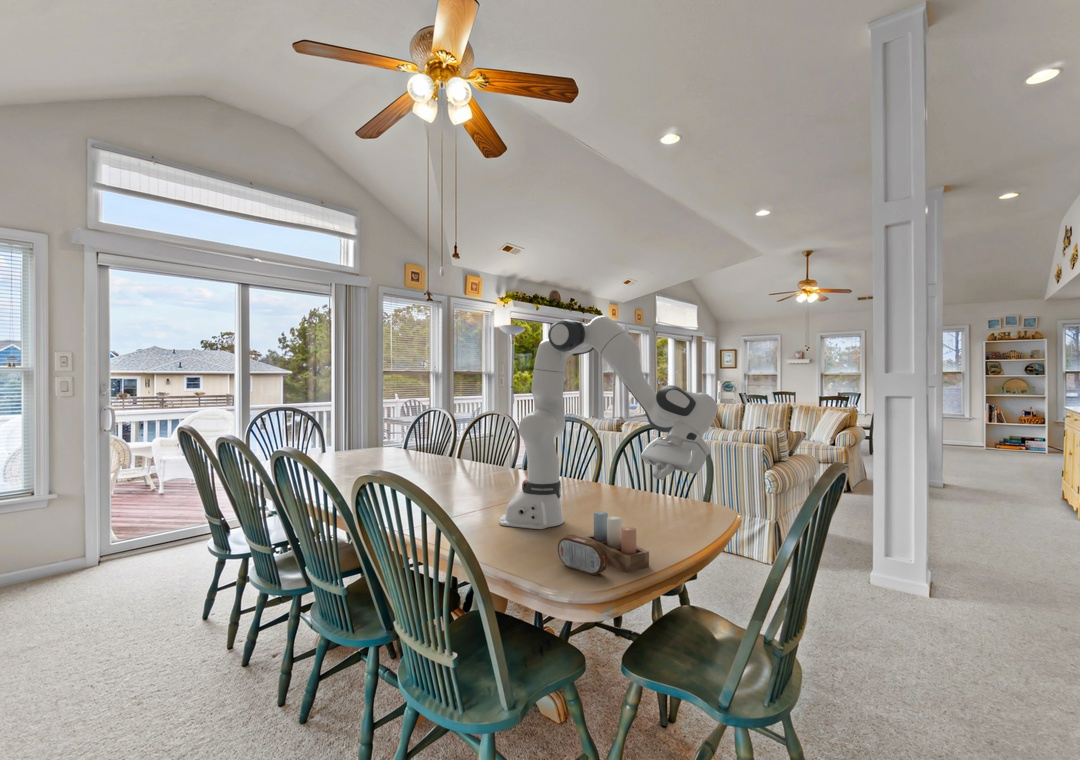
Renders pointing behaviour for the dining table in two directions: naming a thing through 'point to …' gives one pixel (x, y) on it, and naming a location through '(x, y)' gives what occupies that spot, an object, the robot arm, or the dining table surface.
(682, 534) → the dining table surface
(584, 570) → the tin
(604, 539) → the blue grey capsule
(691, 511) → the dining table surface
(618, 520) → the white pillar candle
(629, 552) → the salmon pink capsule
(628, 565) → the three candle holder
